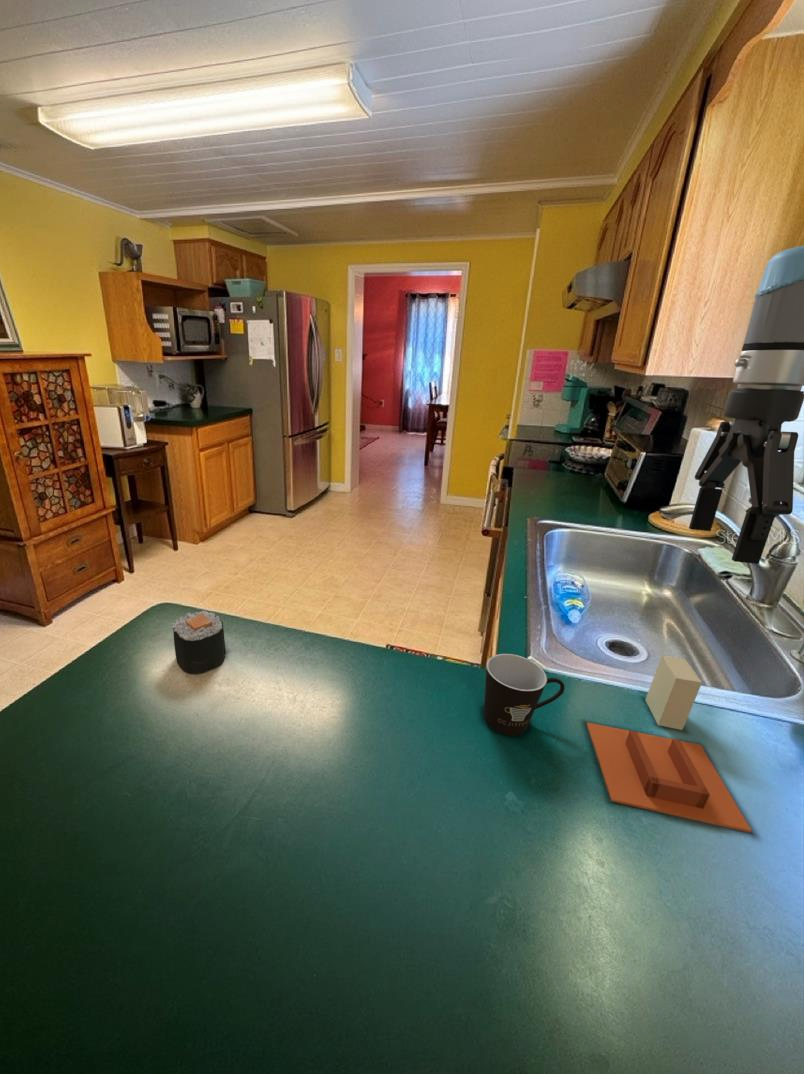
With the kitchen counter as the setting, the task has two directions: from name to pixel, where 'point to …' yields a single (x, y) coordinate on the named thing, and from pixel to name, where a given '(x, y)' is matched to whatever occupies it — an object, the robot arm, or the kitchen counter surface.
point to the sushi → (199, 642)
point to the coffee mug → (514, 692)
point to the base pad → (663, 776)
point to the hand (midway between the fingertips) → (720, 544)
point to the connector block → (673, 692)
